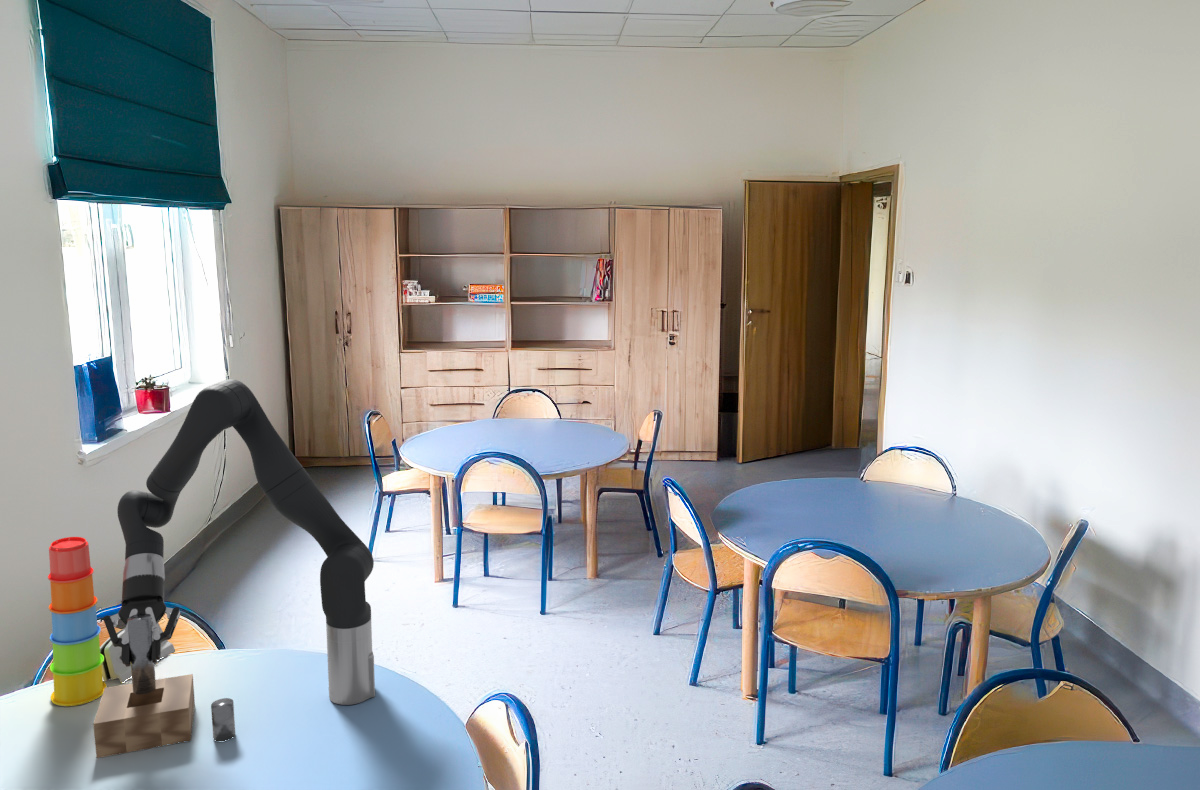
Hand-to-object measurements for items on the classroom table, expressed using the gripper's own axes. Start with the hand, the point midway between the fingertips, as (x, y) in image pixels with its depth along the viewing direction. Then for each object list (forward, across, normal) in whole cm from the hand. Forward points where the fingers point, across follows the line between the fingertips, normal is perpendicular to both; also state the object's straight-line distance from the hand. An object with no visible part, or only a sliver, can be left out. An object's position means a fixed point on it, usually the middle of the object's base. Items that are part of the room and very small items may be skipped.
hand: (141, 662), depth 164 cm
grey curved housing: (-12, -5, +34) cm, 37 cm away
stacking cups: (-4, -15, +26) cm, 31 cm away
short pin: (+15, +14, +7) cm, 22 cm away
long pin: (+3, 0, +6) cm, 7 cm away
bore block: (+10, 0, +12) cm, 15 cm away
